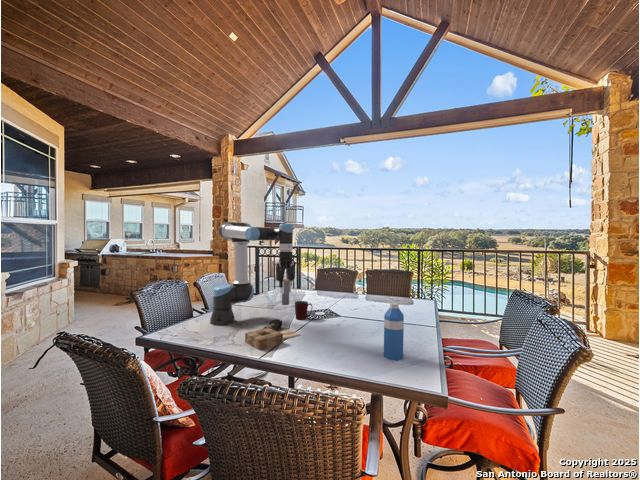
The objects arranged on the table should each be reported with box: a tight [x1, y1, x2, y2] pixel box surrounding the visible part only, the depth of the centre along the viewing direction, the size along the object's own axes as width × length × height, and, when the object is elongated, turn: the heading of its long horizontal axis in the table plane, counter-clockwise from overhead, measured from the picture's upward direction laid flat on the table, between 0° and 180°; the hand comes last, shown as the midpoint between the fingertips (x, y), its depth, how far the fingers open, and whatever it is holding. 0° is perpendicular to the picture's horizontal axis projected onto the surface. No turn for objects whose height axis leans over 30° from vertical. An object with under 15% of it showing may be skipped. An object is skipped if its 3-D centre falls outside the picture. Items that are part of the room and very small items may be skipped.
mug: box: [294, 300, 313, 321], centre depth 203 cm, size 12×9×11 cm
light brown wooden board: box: [277, 328, 301, 341], centre depth 170 cm, size 12×12×1 cm
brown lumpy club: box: [262, 318, 283, 331], centre depth 176 cm, size 18×7×6 cm, turn 161°
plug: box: [281, 278, 290, 306], centre depth 169 cm, size 4×4×14 cm
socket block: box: [244, 327, 284, 351], centre depth 156 cm, size 14×14×5 cm
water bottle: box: [383, 302, 405, 361], centre depth 141 cm, size 9×9×25 cm
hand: (285, 292), depth 169 cm, fingers closed on plug, 4 cm apart
